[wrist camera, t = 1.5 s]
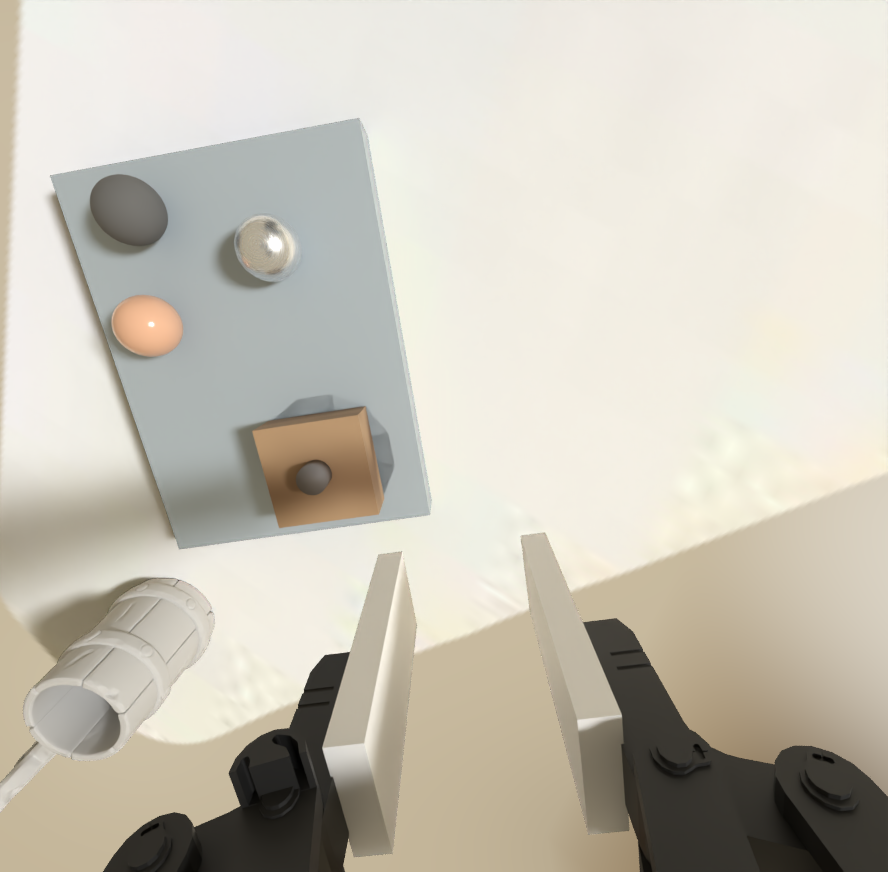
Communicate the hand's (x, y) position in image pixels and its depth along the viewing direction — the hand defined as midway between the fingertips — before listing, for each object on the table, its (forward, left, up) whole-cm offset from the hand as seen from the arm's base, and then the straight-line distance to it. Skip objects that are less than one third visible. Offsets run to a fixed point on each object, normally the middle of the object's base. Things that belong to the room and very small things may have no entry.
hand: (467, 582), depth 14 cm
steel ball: (-13, -9, -14) cm, 21 cm away
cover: (0, -9, -16) cm, 18 cm away
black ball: (-16, -16, -14) cm, 27 cm away
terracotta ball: (-10, -17, -14) cm, 24 cm away
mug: (+13, -27, -19) cm, 35 cm away
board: (-7, -12, -19) cm, 23 cm away
